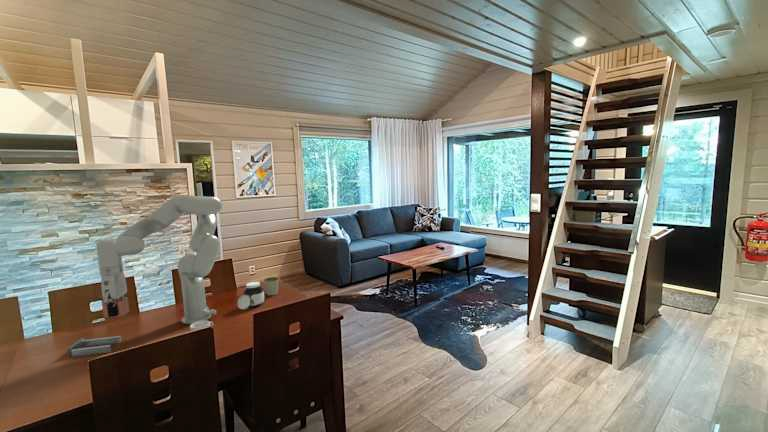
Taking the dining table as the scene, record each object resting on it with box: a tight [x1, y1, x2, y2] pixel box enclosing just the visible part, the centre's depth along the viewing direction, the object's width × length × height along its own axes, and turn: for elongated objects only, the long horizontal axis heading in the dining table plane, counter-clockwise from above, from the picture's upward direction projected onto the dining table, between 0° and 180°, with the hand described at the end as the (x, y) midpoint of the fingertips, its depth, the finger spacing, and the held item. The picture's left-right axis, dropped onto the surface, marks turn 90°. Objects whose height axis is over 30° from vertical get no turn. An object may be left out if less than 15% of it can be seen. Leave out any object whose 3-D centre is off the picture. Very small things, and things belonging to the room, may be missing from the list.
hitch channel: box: [67, 335, 122, 358], centre depth 145 cm, size 14×9×4 cm
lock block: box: [101, 296, 130, 319], centre depth 145 cm, size 7×5×6 cm
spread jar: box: [237, 281, 265, 310], centre depth 187 cm, size 12×11×12 cm
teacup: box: [189, 320, 214, 332], centre depth 155 cm, size 10×8×5 cm
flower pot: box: [262, 276, 281, 297], centre depth 206 cm, size 9×9×9 cm
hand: (116, 313), depth 146 cm, fingers closed on lock block, 5 cm apart
